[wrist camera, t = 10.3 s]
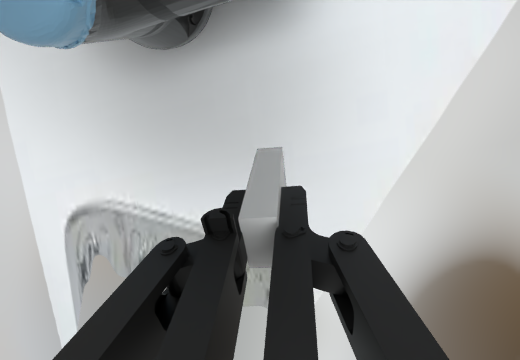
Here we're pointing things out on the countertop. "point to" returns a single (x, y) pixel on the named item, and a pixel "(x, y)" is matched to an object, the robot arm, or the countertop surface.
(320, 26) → the countertop surface
